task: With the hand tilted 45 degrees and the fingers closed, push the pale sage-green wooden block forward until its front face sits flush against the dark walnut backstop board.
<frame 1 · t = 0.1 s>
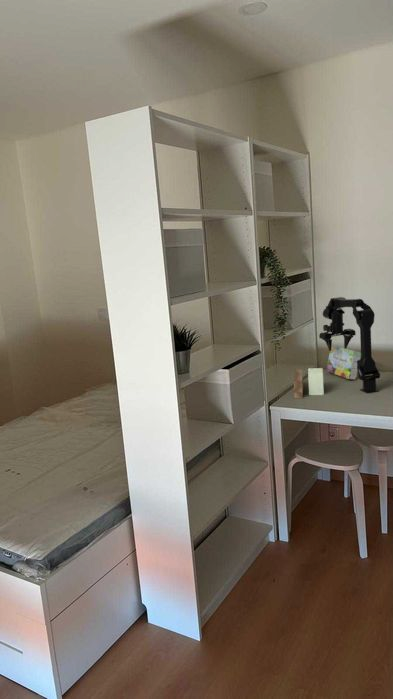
hand: (337, 349, 287), 16 cm above the table, tool pointing down, fingers open, 9 cm apart
backstop board: (298, 392, 270), on the table
green block: (316, 392, 268), on the table
snack box: (340, 375, 292), on the table, touching gripper
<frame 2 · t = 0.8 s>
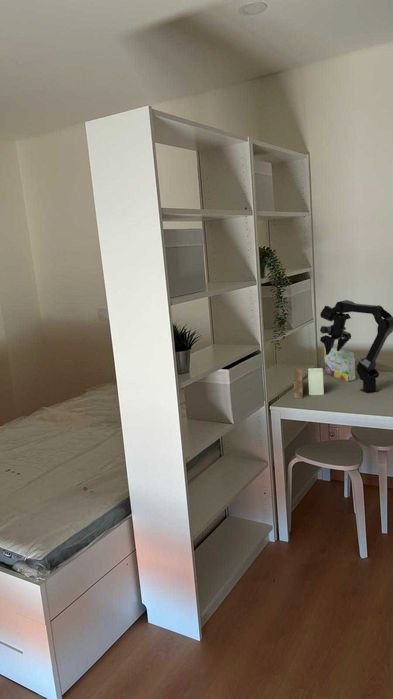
hand: (332, 352, 275), 17 cm above the table, tool tilted 15°, fingers open, 9 cm apart
snack box: (340, 377, 292), on the table
everything else where it was.
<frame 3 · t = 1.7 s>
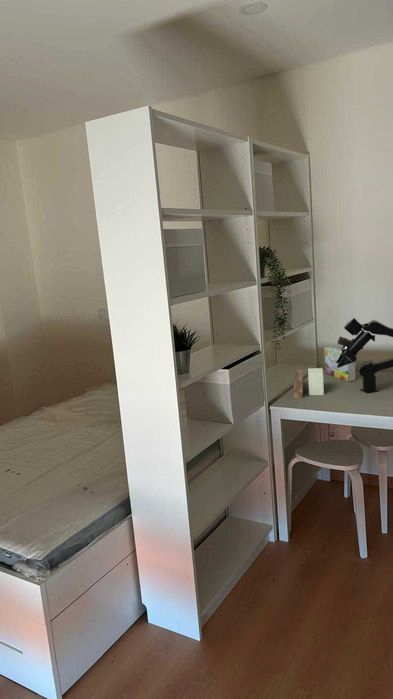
hand: (337, 365, 263), 13 cm above the table, tool tilted 45°, fingers open, 9 cm apart
nothing on the table moved.
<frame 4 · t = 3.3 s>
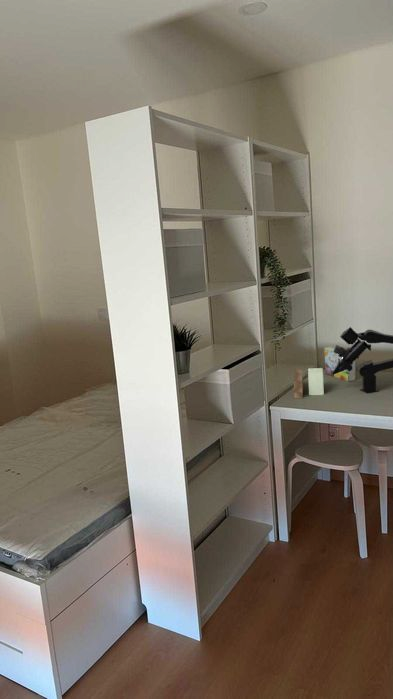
hand: (333, 373, 265), 9 cm above the table, tool tilted 45°, fingers closed
nothing on the table moved.
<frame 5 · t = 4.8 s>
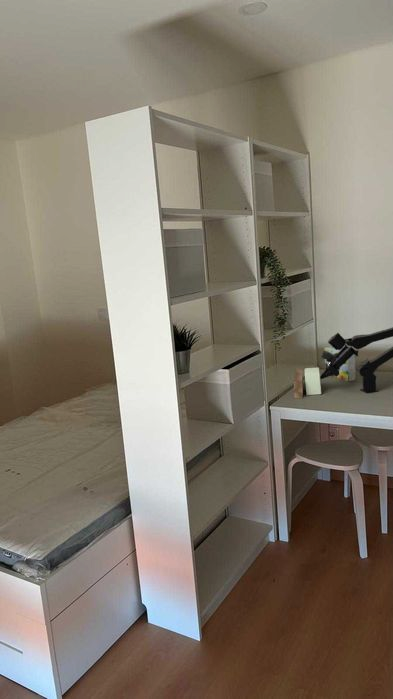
hand: (320, 378, 266), 7 cm above the table, tool tilted 45°, fingers closed, pressing on green block
green block: (313, 391, 268), on the table, touching gripper
everything else where it was.
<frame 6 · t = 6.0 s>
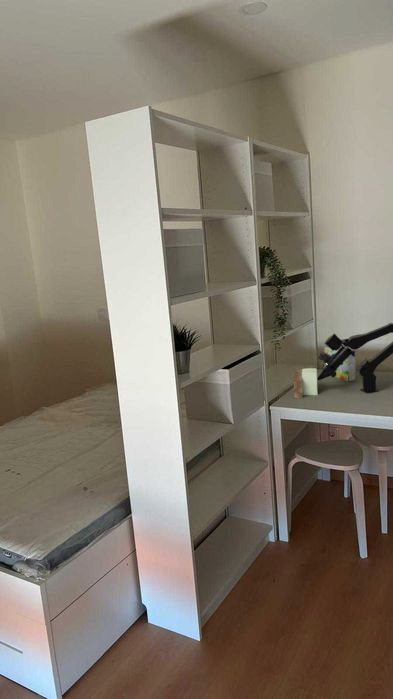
hand: (317, 379, 267), 6 cm above the table, tool tilted 45°, fingers closed
green block: (310, 392, 269), on the table
everything else where it was.
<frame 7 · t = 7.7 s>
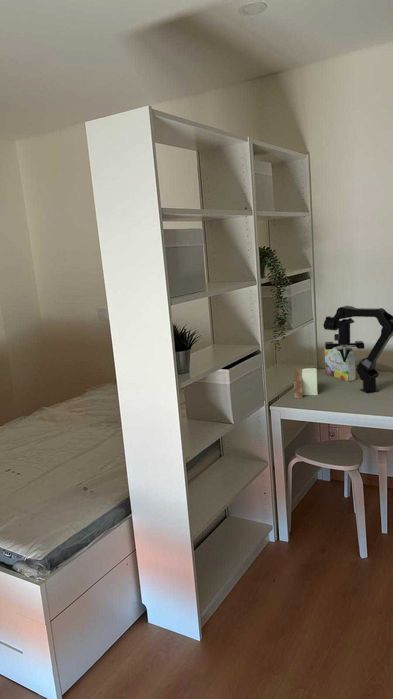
hand: (344, 361, 270), 13 cm above the table, tool pointing down, fingers closed
nothing on the table moved.
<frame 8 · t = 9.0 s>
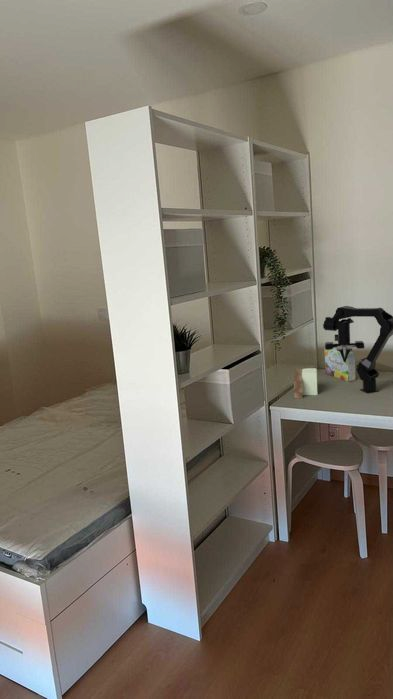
hand: (344, 362, 270), 13 cm above the table, tool pointing down, fingers closed
nothing on the table moved.
at the end: green block 5.5 cm from the backstop board (horizontally); green block tilted 0° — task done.
